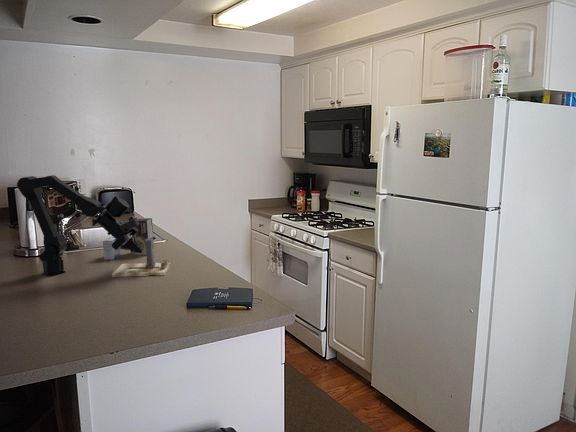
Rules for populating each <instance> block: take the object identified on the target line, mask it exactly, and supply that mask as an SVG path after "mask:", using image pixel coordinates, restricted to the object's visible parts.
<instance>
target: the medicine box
mask: <svg viewBox="0 0 576 432" xmlns="http://www.w3.org/2000/svg"><path fill="white" fill-rule="evenodd" d="M115 240H116V239H115V238H114V237H113V236H110V237H108V238H107V239H105V240H102V249H103V258H104V260H107V261H108V260H116V259H117V258H119V257H120V256H121V247H119V248H118V249H117V250H115V249H114V248H112V243H113V242H114V241H115Z"/></svg>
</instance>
